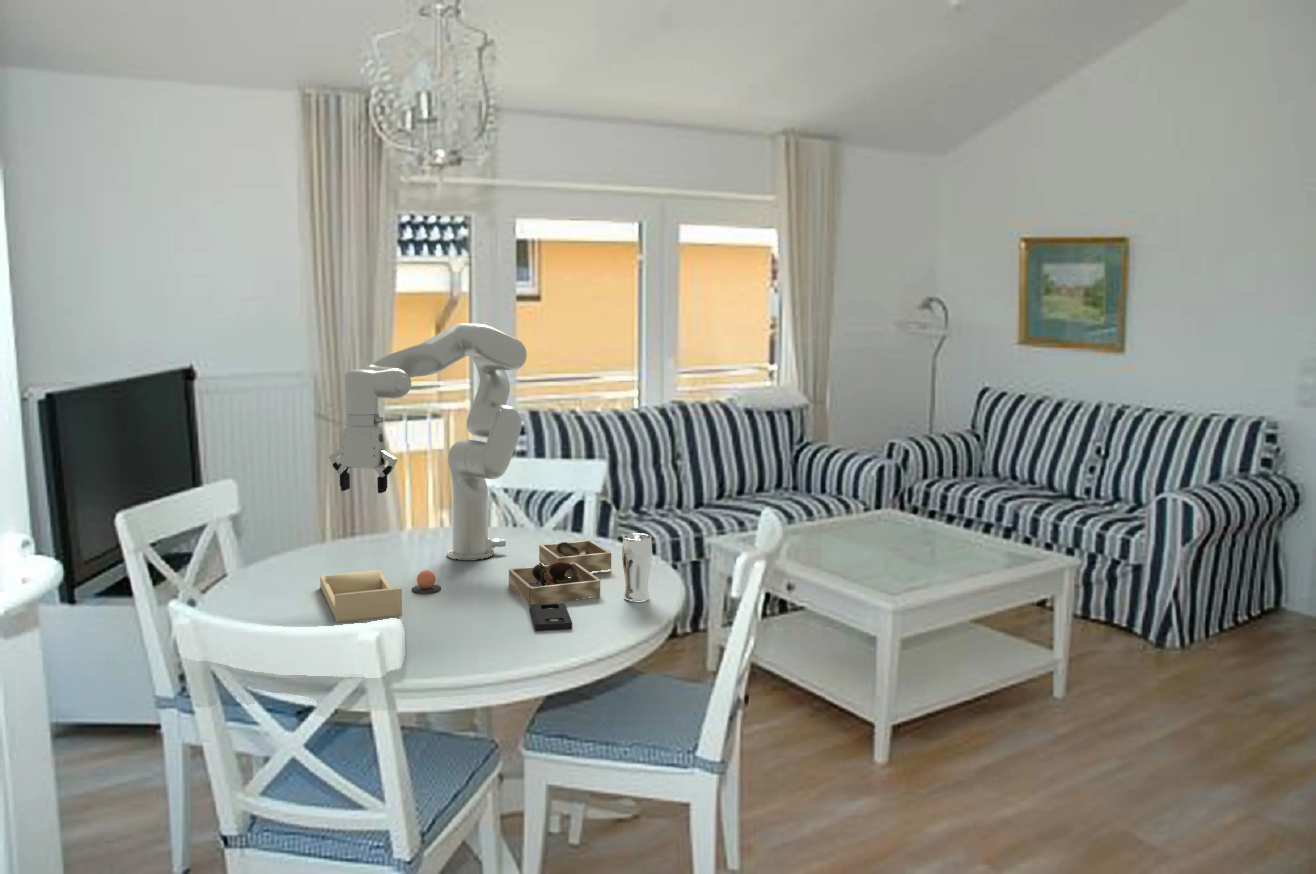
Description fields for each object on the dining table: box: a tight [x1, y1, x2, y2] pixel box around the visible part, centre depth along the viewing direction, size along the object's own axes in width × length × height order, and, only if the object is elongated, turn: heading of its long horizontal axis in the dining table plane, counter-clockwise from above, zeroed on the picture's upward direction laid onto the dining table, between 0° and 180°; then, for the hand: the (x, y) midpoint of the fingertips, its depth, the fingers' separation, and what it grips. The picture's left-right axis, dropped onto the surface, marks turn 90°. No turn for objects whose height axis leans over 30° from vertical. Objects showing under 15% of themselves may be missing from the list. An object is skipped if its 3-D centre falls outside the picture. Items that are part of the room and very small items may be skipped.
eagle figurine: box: [556, 541, 591, 556], centre depth 261 cm, size 8×7×9 cm
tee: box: [411, 583, 442, 595], centre depth 240 cm, size 7×7×1 cm
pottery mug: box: [532, 561, 580, 586], centre depth 240 cm, size 12×10×8 cm
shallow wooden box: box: [508, 563, 601, 605], centre depth 240 cm, size 18×18×4 cm
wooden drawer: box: [319, 569, 403, 624], centre depth 230 cm, size 14×28×10 cm, turn 25°
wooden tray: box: [538, 539, 612, 572], centre depth 262 cm, size 15×15×5 cm
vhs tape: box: [529, 602, 573, 632], centre depth 219 cm, size 14×8×2 cm, turn 12°
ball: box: [416, 569, 437, 589], centre depth 239 cm, size 4×4×4 cm
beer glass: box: [621, 532, 653, 601], centre depth 235 cm, size 7×7×15 cm
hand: (363, 491), depth 243 cm, fingers open, 9 cm apart
